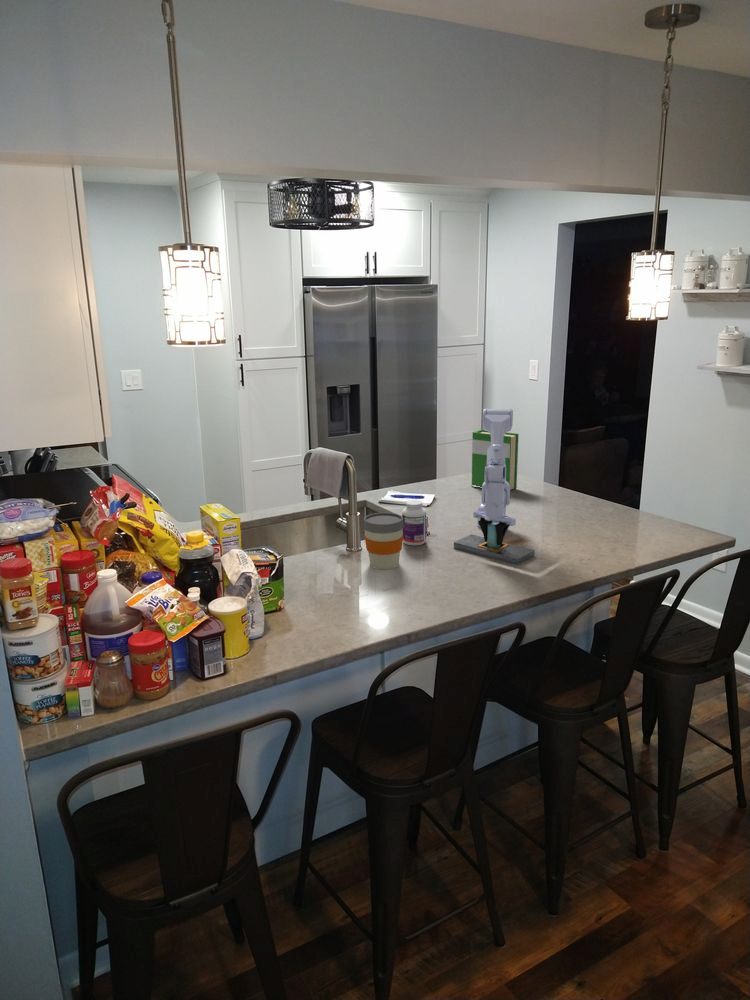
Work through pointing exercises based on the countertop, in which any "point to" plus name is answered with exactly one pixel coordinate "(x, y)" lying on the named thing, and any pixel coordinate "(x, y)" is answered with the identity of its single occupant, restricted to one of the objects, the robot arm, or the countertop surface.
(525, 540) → the brown square coaster
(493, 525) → the peg
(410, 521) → the pill bottle
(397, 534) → the reusable coffee cup
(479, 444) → the hardback book
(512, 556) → the grey peg hole board
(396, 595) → the countertop surface
